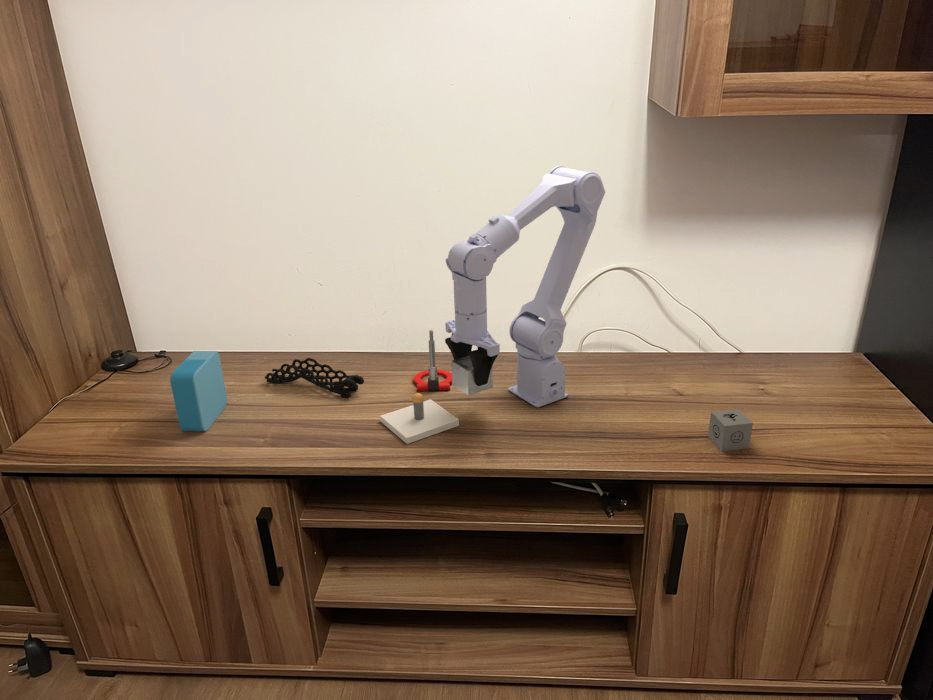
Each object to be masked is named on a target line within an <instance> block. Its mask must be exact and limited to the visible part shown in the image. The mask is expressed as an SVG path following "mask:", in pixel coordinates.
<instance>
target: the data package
mask: <svg viewBox="0 0 933 700" xmlns="http://www.w3.org/2000/svg"><path fill="white" fill-rule="evenodd" d="M169 381H170V387H171V391H172V397H173V401H174V406H175V410H176V416H177V419H178V425H179V428H180V430H181V431H182V432H207V431H208V430H209V429H210V428H211V427H212V425H213V424H214V423H215V421H216V420H217V419H218V417H219V416H220V415H221V414H222V412H223V411H224V410H225V408H226V406H227V404H228V396H227V392H226V391H227V390H226V385H225V380H224V375H223V368H222V363H221V357H220V354H219V352H218V351H216V350H214V351H213V350H195V351H193V352H191V353H190V354H189V355H188V356H187V357H186V358H185V359H184V360H183V361H182V362H181V363H180V364H179V365H178V367H176V369H174V370H173V371H172V373H171V375H170V380H169Z"/></svg>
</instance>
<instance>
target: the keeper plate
mask: <svg viewBox="0 0 933 700" xmlns="http://www.w3.org/2000/svg"><path fill="white" fill-rule="evenodd" d="M424 399H425V398H424V395H423V394H422V393H419V392H416V393H414V394H413V395H412V403H413V404H412V405H408V406H406V407H403V408H399V409H395V410H394V411H391V412H387V413H384V414H382V415H379V417H380V420H379V421H380V422H381V423H382V425H384V426H386V427H387V429H389V430H390V431H391V432H393V434H395V435H396V436H397V437H398V438H399V439H400V440H401V441H403V442H404V443H406V445H409V444H411V443H414V442H416V441H419V440H422V439H426V438H427V437H430V436H434V435H436V434H439V433H442V432H445V431H447V430H452V429H453V428H456V427H459V426H460V420H459V418H457V417H456V416H454V415H453V414H452V413H450V412H449V411H447V410H446V409H445V408H443V407H442V406H441V405H439V404H437V403H436V402H435V401H434V400H433V399H427V400H424Z"/></svg>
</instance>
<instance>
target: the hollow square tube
mask: <svg viewBox="0 0 933 700" xmlns="http://www.w3.org/2000/svg"><path fill="white" fill-rule="evenodd" d="M450 361H451V362H450V363H451V373H452V384H451V385H452V386H453V387H455V388H457V390H459V391H461V392H462V393H463V394H465V395H467V396H468V397H469V396H473V395H475V394H478V393H481V392H484V391H487V390H489V389H493V387H494V382H493V377H494V376H493V375H494V374H493V367H492V368H491V371H490V375H489V379H488V383H487V384H485V385H482V386H477V385H476V382H475V376H474V369H473V365H472V362H471V359H470V357H469V356H465V357H462V358H459V359H456V360H454V359H453V360H450Z"/></svg>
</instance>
